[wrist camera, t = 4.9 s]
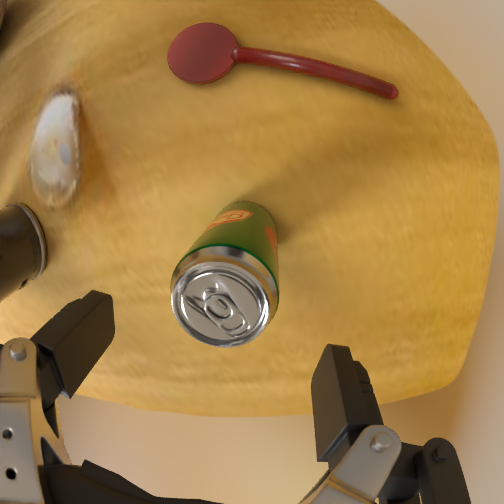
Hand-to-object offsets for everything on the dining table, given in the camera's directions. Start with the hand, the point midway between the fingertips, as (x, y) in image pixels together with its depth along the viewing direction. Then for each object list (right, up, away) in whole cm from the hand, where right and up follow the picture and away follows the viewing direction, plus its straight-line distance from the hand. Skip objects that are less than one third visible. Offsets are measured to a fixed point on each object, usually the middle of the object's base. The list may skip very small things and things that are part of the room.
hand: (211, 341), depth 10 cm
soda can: (+1, +5, +14) cm, 15 cm away
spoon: (+4, +18, +9) cm, 20 cm away
